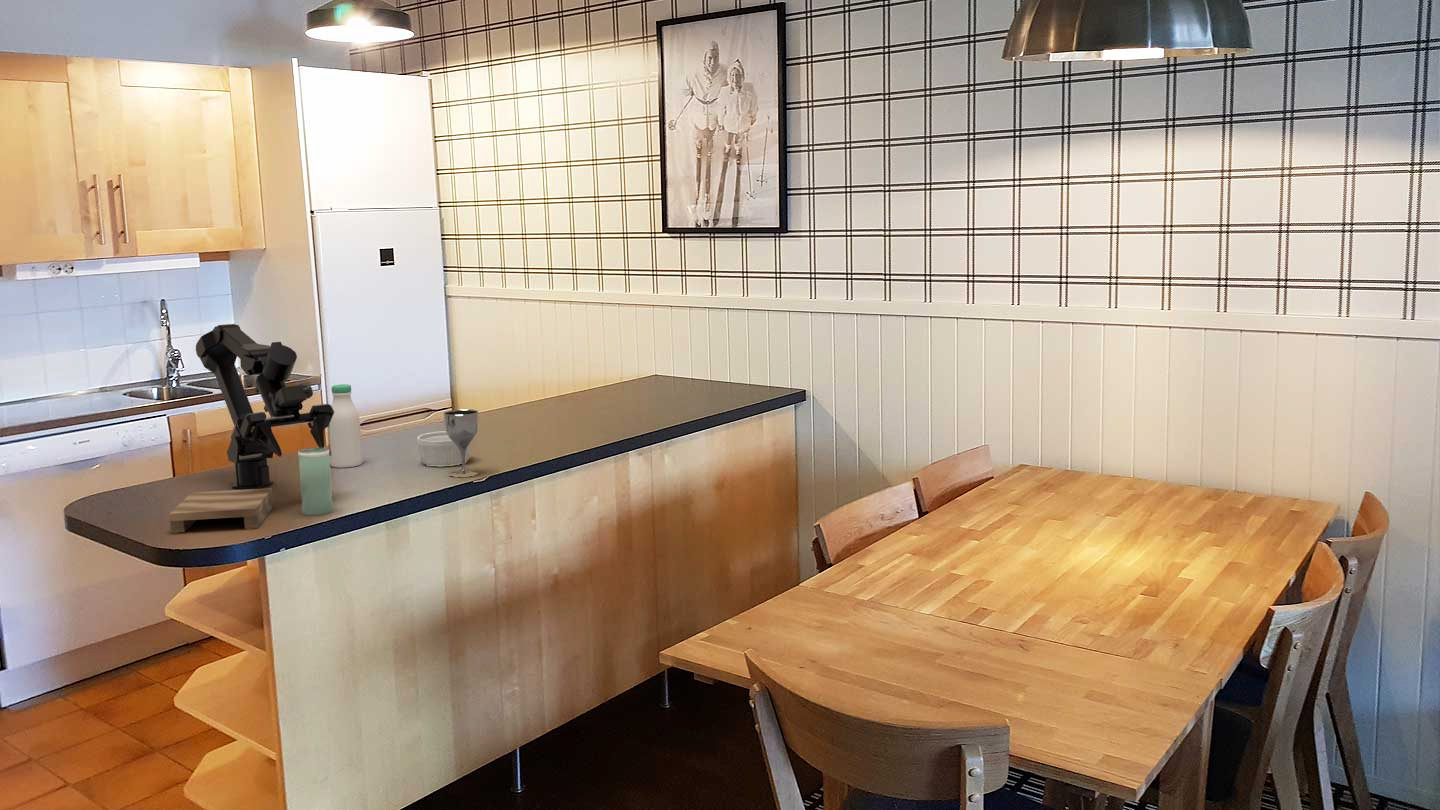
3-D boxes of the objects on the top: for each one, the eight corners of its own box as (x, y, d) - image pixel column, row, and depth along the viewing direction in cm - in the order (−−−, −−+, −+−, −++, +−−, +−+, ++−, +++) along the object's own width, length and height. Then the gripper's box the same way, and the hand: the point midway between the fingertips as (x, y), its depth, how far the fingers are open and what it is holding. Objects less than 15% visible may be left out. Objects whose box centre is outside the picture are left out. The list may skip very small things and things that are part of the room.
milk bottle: (369, 463, 290) (364, 383, 287) (347, 469, 283) (342, 388, 280) (345, 460, 293) (340, 382, 290) (323, 466, 286) (317, 386, 283)
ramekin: (458, 469, 282) (457, 441, 281) (408, 467, 285) (407, 439, 283) (481, 458, 294) (480, 431, 293) (433, 456, 297) (432, 430, 296)
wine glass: (473, 478, 271) (469, 415, 269) (441, 477, 273) (437, 414, 271) (486, 471, 279) (483, 409, 277) (455, 470, 281) (452, 409, 278)
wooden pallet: (193, 511, 244) (191, 492, 244) (273, 506, 247) (272, 488, 247) (171, 533, 227) (169, 513, 226) (257, 528, 230) (256, 508, 229)
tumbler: (296, 514, 241) (291, 452, 238) (313, 507, 246) (309, 447, 244) (321, 516, 239) (317, 454, 237) (339, 508, 245) (335, 448, 243)
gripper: (241, 375, 239) (267, 435, 233) (327, 366, 252) (354, 422, 246) (229, 409, 246) (254, 467, 240) (314, 399, 259) (340, 454, 253)
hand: (302, 452), depth 245 cm, fingers open, 9 cm apart
